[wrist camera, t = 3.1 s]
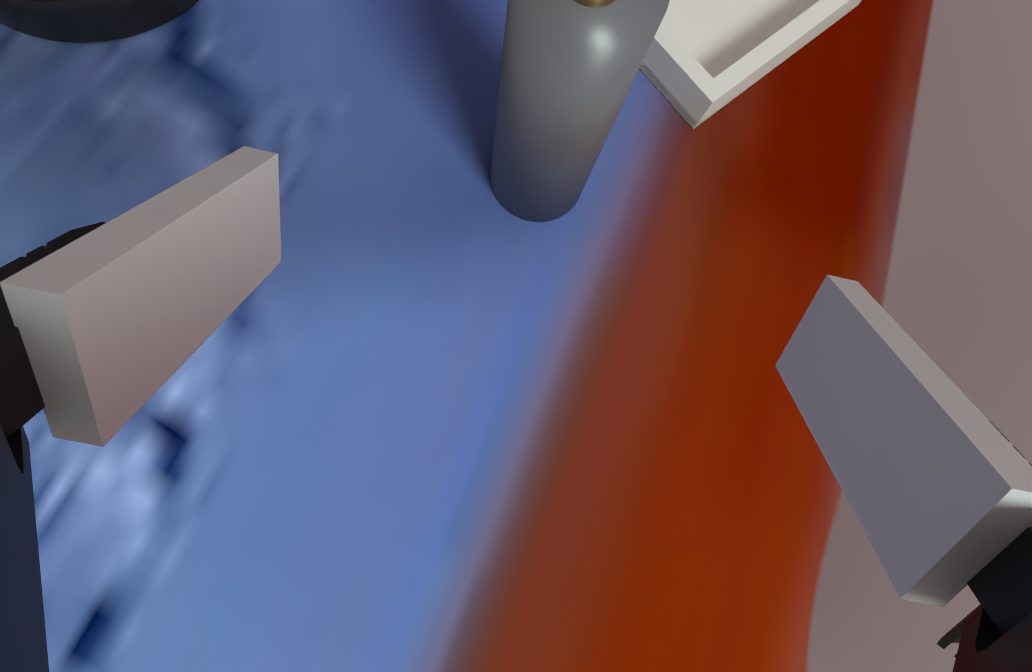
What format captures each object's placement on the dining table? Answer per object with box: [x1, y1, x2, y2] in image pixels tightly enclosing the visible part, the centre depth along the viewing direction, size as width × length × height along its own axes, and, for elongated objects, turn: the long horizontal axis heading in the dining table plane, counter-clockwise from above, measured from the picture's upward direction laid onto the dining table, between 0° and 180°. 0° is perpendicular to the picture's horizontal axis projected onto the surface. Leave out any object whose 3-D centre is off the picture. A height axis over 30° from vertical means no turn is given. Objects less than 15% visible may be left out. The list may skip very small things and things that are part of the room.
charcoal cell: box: [490, 0, 670, 222], centre depth 23 cm, size 5×5×14 cm
